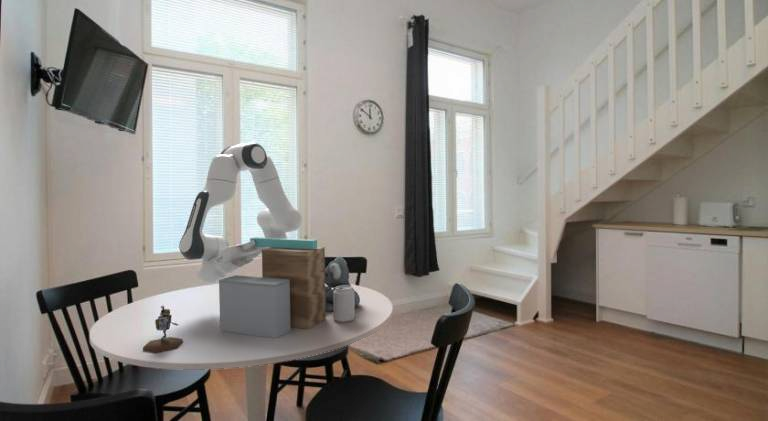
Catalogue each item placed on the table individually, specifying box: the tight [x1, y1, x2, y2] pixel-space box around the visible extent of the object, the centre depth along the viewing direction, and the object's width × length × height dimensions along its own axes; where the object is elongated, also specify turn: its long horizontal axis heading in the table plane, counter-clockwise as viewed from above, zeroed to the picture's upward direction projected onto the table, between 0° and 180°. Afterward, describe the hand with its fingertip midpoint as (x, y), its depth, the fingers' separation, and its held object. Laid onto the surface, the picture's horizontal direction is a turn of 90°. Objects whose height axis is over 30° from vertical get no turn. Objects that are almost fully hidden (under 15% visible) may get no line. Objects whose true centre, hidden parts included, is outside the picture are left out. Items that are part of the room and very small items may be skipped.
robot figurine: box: [142, 305, 184, 354], centre depth 124 cm, size 11×9×12 cm
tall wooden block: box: [261, 246, 326, 330], centre depth 147 cm, size 12×18×26 cm, turn 70°
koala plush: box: [325, 256, 361, 312], centre depth 165 cm, size 17×18×20 cm
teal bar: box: [249, 237, 318, 250], centre depth 148 cm, size 3×26×3 cm, turn 70°
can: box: [333, 285, 356, 323], centre depth 148 cm, size 8×8×12 cm
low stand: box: [218, 274, 291, 339], centre depth 137 cm, size 8×22×17 cm, turn 70°
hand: (259, 240), depth 151 cm, fingers closed on teal bar, 3 cm apart
